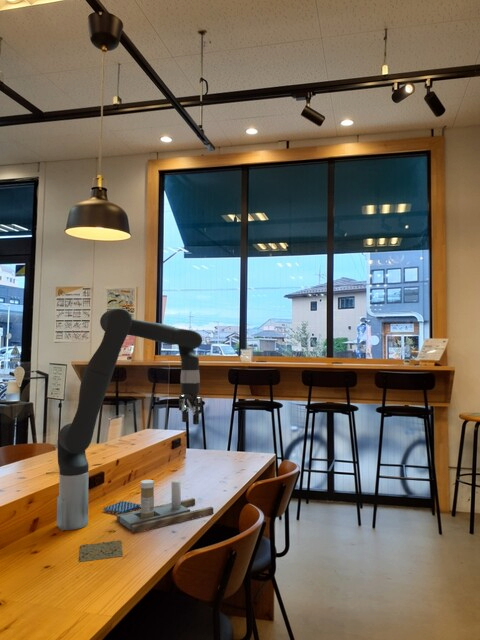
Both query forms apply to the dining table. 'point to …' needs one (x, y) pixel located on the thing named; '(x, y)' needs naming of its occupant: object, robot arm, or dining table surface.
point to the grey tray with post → (158, 509)
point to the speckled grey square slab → (100, 551)
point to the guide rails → (169, 519)
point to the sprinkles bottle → (147, 499)
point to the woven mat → (122, 507)
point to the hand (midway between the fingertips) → (190, 423)
